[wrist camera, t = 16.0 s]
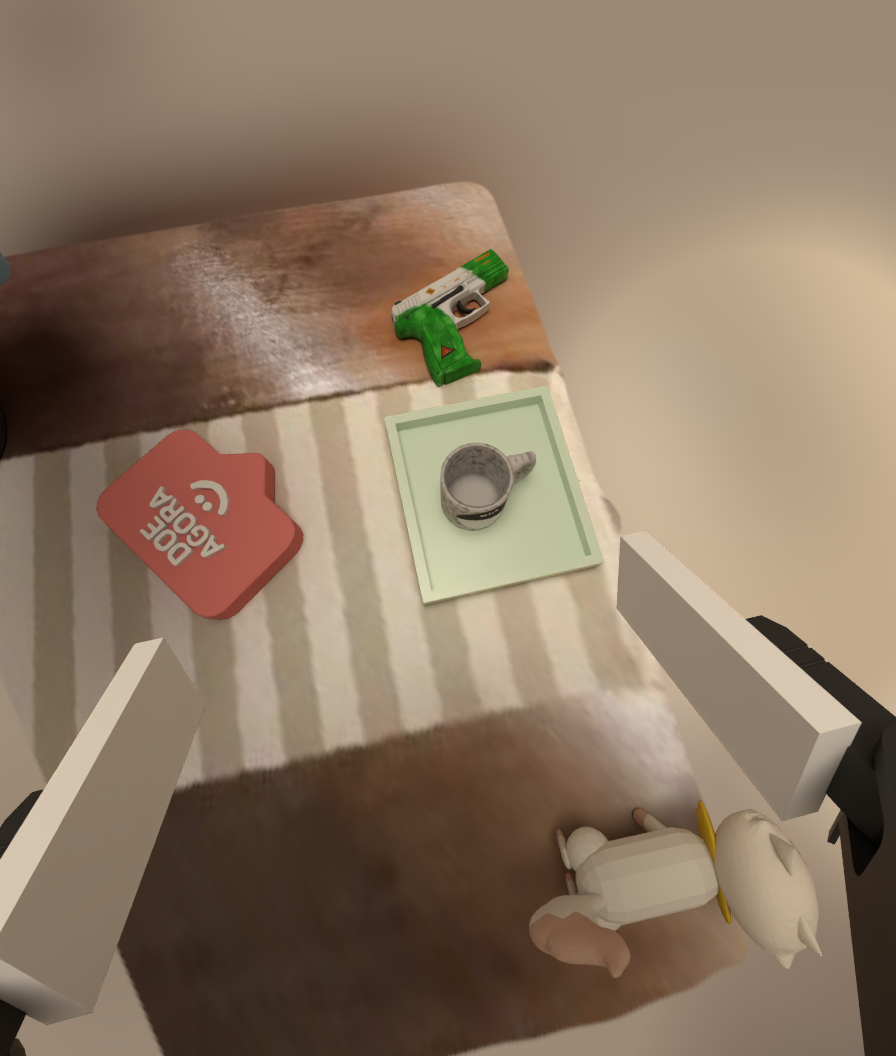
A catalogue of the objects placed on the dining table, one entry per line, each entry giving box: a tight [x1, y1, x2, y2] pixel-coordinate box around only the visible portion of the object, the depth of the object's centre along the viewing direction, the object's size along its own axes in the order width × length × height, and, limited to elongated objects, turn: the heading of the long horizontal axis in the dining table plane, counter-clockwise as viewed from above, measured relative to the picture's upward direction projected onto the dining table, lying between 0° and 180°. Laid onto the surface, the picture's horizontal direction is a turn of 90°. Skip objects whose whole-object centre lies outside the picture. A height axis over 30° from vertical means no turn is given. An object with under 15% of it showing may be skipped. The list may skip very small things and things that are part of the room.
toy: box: [529, 800, 822, 978], centre depth 32 cm, size 9×19×15 cm, turn 101°
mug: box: [440, 443, 536, 531], centre depth 44 cm, size 10×7×7 cm
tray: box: [384, 385, 604, 605], centre depth 47 cm, size 20×18×2 cm
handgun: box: [392, 249, 509, 387], centre depth 53 cm, size 3×16×12 cm
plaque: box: [96, 430, 303, 619], centre depth 45 cm, size 18×4×15 cm
